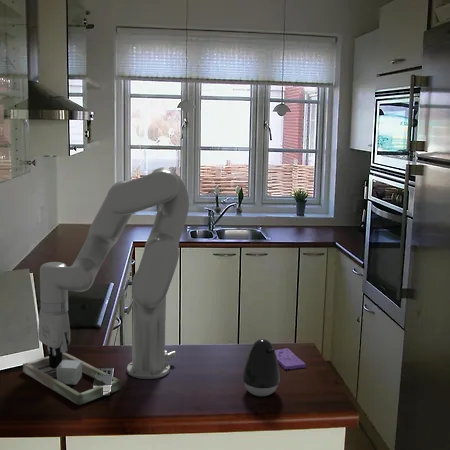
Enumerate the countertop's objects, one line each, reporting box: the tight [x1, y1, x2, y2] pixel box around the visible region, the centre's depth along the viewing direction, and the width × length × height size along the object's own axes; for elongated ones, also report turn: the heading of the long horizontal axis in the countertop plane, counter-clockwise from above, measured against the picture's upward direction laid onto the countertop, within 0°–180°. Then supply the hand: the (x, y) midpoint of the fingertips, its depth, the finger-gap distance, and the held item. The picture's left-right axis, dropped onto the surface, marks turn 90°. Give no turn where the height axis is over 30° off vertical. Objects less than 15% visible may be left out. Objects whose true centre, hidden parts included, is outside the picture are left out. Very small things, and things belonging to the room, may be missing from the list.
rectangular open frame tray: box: [22, 352, 122, 406], centre depth 162 cm, size 13×28×2 cm, turn 48°
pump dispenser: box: [242, 338, 281, 397], centre depth 158 cm, size 10×10×15 cm
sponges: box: [274, 348, 306, 371], centre depth 181 cm, size 7×13×2 cm, turn 20°
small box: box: [56, 360, 83, 386], centre depth 162 cm, size 6×6×5 cm
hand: (55, 366), depth 167 cm, fingers closed
